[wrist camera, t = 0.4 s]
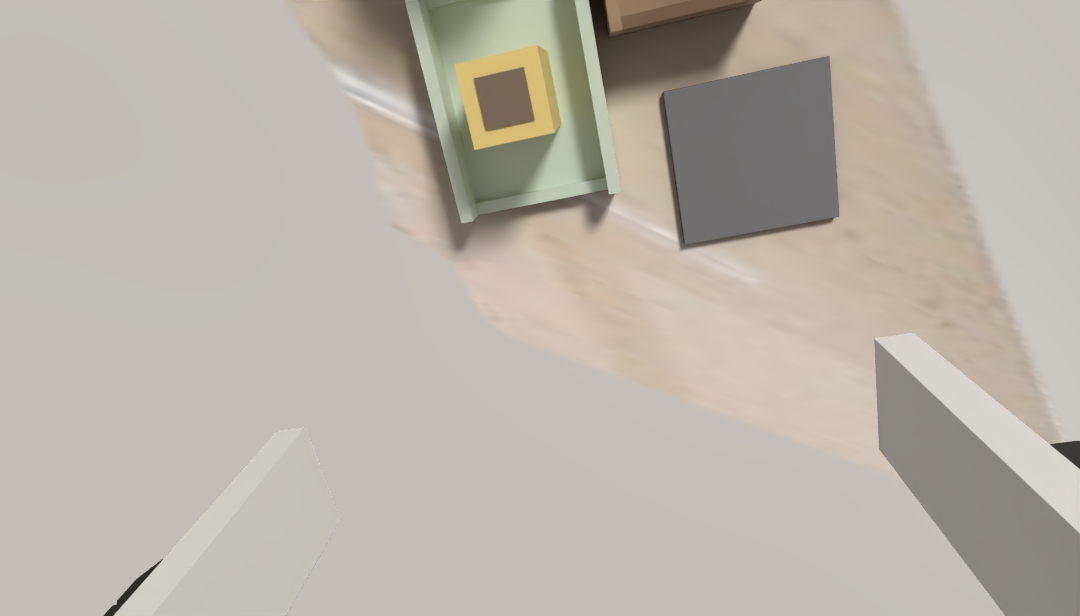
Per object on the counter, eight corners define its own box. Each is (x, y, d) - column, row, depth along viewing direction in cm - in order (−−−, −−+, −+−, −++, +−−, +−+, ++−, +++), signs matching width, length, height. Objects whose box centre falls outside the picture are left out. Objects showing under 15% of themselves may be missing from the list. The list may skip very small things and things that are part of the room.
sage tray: (417, 0, 36) (402, -7, 33) (581, -42, 35) (579, -52, 32) (470, 214, 40) (461, 223, 37) (619, 184, 38) (621, 192, 36)
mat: (662, 92, 36) (663, 92, 36) (826, 56, 35) (829, 56, 35) (684, 242, 39) (685, 244, 39) (836, 215, 38) (839, 216, 38)
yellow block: (479, 67, 36) (453, 64, 30) (547, 51, 36) (536, 44, 29) (495, 137, 38) (473, 150, 31) (561, 123, 37) (554, 132, 30)
